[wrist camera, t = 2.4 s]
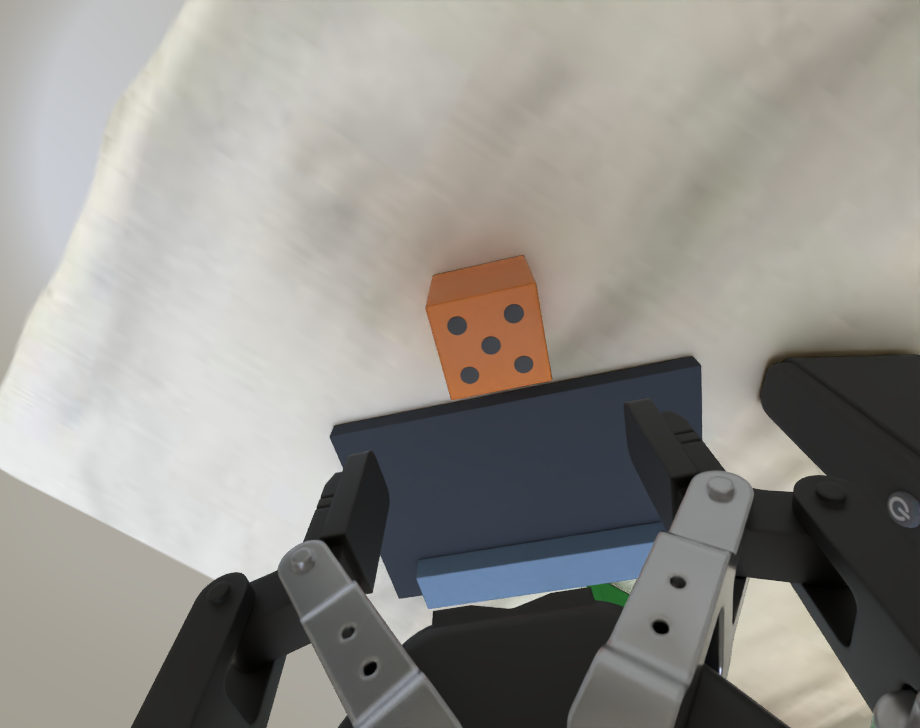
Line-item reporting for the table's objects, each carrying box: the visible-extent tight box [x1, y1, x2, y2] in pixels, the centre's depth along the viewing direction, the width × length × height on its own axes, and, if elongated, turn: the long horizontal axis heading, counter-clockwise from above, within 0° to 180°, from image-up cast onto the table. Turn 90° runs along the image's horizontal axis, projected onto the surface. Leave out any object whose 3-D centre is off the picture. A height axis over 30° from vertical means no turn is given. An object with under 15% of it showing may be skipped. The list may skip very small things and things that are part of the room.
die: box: [426, 255, 552, 400], centre depth 24 cm, size 5×5×5 cm
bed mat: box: [330, 356, 702, 609], centre depth 31 cm, size 15×22×3 cm
